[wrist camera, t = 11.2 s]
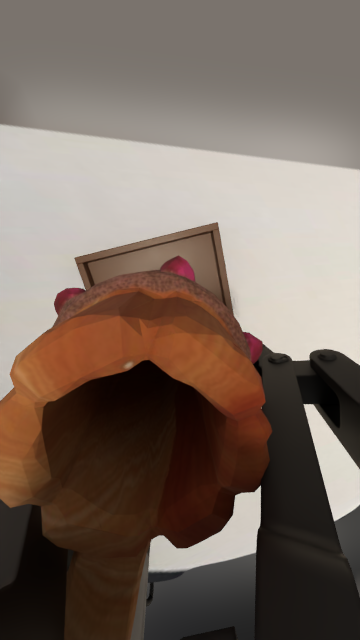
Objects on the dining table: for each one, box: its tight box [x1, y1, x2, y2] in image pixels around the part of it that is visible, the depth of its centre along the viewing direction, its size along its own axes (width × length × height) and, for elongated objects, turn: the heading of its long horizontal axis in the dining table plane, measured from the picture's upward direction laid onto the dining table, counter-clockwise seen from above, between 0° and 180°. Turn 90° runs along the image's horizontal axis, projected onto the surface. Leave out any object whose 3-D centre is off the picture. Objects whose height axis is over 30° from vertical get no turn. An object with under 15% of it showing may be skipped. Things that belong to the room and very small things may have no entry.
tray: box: [75, 222, 234, 316], centre depth 28 cm, size 21×19×2 cm
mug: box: [0, 255, 272, 640], centre depth 11 cm, size 15×8×15 cm, turn 164°
